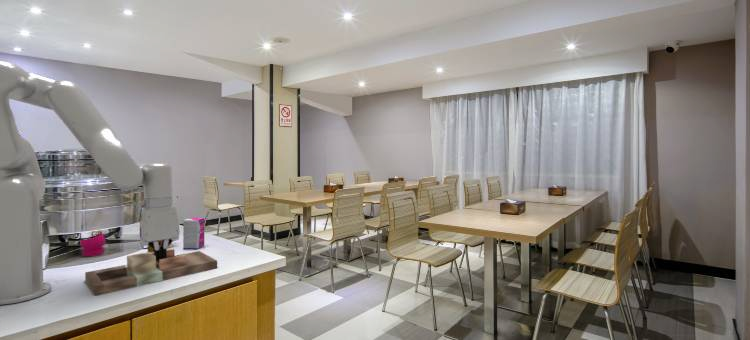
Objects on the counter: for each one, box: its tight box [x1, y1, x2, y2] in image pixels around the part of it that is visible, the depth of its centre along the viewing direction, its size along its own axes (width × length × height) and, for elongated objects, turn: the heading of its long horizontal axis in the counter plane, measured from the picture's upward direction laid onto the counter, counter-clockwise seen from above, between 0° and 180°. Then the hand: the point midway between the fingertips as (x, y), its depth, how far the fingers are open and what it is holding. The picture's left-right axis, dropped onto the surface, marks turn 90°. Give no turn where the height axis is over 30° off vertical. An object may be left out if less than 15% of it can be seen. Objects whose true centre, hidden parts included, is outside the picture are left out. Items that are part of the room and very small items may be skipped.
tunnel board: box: [84, 248, 218, 296], centre depth 112 cm, size 32×15×6 cm, turn 136°
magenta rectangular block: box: [79, 231, 106, 257], centre depth 131 cm, size 7×7×20 cm
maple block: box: [126, 251, 156, 274], centre depth 109 cm, size 6×6×4 cm
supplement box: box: [182, 217, 206, 251], centre depth 142 cm, size 6×6×12 cm
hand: (160, 261), depth 113 cm, fingers closed
